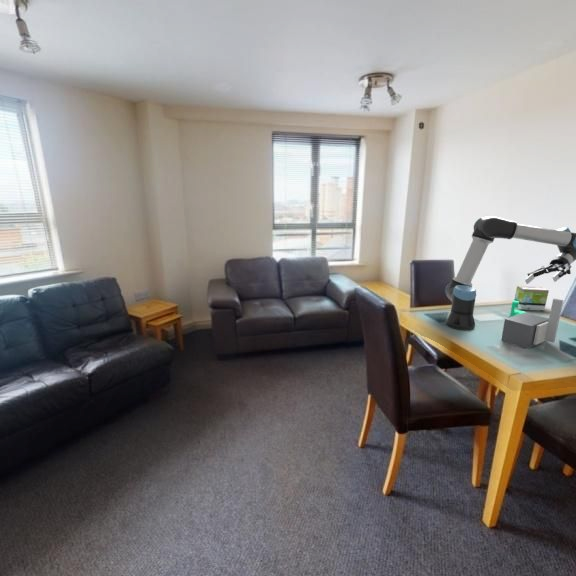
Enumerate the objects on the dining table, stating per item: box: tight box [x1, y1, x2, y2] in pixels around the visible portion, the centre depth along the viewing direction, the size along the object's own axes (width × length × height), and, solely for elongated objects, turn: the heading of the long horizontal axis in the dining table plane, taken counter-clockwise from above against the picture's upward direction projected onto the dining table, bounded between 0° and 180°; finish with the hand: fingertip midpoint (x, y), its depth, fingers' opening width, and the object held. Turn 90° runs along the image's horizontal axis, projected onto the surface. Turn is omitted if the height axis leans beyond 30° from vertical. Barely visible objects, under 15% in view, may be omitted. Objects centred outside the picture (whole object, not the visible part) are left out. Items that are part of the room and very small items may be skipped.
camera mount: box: [509, 299, 527, 317], centre depth 203 cm, size 12×8×10 cm, turn 143°
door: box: [533, 298, 564, 346], centre depth 157 cm, size 10×5×22 cm, turn 120°
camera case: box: [500, 311, 549, 350], centre depth 166 cm, size 20×12×12 cm, turn 120°
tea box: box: [513, 285, 550, 311], centre depth 218 cm, size 15×10×15 cm, turn 80°
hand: (539, 280), depth 169 cm, fingers open, 13 cm apart
